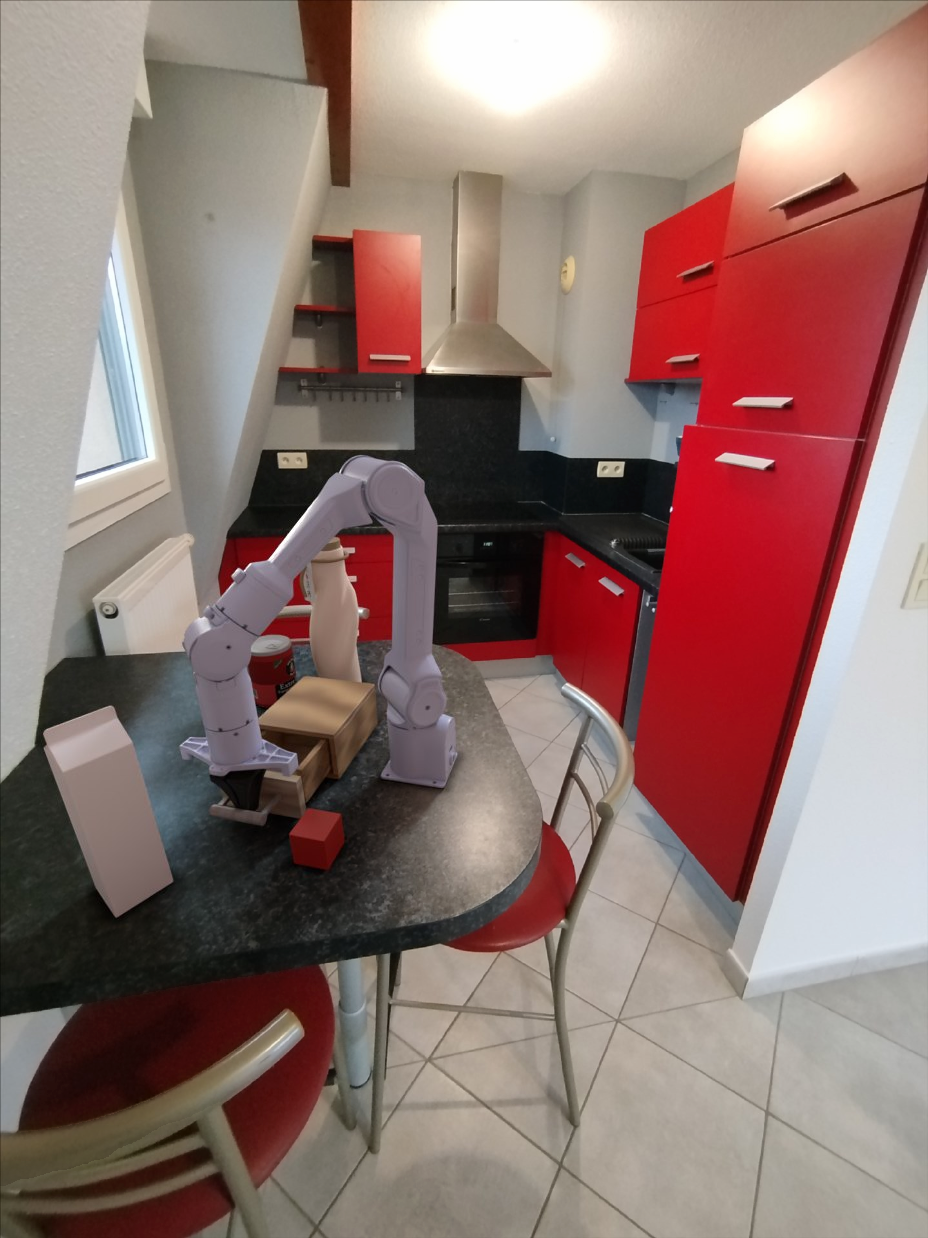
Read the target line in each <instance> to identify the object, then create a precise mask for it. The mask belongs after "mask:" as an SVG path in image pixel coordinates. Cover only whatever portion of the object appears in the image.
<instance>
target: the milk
mask: <svg viewBox="0 0 928 1238" xmlns="http://www.w3.org/2000/svg"><path fill="white" fill-rule="evenodd" d="M42 735H43V738H44V741H45V743H46V745H45V746H43V751H44V752H45V756H46V758H47V761H48V764H49V766H50V770H51V772H52V774H53V777H54V780H55V783H56V785H57V788H58V790H59V794H60V797H61V799H62V801H63V804H64V807H65V809H66V812H67V814H68V817H69V820H70V823H71V825H72V828H73V831H74V833H75V837H76V840H77V841H78V844H79V847H80V849H81V852H82V854H83V857H84V860H85V864H86V866H87V868H88V871H89V873H90V877H91V879H92V882H93V885H94V887H95V889H96V890H97V892H98V893H99V895H100V897H101V898H102V900H103V902H104V903H105V904H106V905H107V907H108V908H109V910H110V912H111V913H112V914H113V916H114V917H115V918H116V919H117V918H119V917H120V916H122V915H123V914H125V913H127V912H128V911H130V910H131V909H132V908H134V907H136V906H137V905H139V904H141V903H142V902H144V901H145V900H147V899H149V898H151V896H153V895H155V894H156V893H158V892H159V891H162V890H163V889H164V888H166V887H168V886H169V885H170V884H173V882H174V877H173V875H172V871H171V868H170V864H169V860H168V856H167V853H166V851H165V846H164V844H163V841H162V837H161V834H160V829H159V827H158V823H157V820H156V817H155V814H154V810H153V806H152V803H151V800H150V797H149V793H148V790H147V786H146V782H145V779H144V776H143V773H142V770H141V766H140V762H139V758H138V756H137V752H136V749H135V746H134V742H133V740H132V739H131V737H130V735H129V733H127V731H126V729H125V727H124V725H123V724H122V722H121V721H120V720H119V717H118V715H117V712H116V709H115V707H114V706H113V705H108V706H106V707H102V708H99V709H97V710H95V711H92V712H89V713H87V714H84V715H81V716H79V717H75V718H73V719H71V720H68V721H64V722H63V723H60V724H57V725H53V726H52V727H49V728H46V729H44V731H43V734H42Z"/></svg>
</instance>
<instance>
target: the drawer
mask: <svg viewBox="0 0 928 1238" xmlns="http://www.w3.org/2000/svg"><path fill="white" fill-rule="evenodd" d="M261 738H262V739H264V740H266V741H268V742H270V743H271V744H273V745H275V746H277V747H279V748H281V749H283V750H286V751H288V752H292V753H297V759H298V766H299V767H298V768H297V769H296V770H295V772H294V773H293V774H292V775H291V776H290V777H287V776H283V775H282V772H281V771H275V770H269V769H267V770H266V772H265V775H264V778H263V781H262V785H261V791H260V798H259V807H258V809H257V810H256V811H249V810H244V809H238V808H235V806H234V805H233V803H232V802H231V800H230V799H229V797H228V796H227V795H226V794H225V792H224V791H223V790H222V789H221V788H220V792H221V798H222V799H221V800H220V801H219V802H218V803H217V804H216V803H214V804H212V805H211V806H209V809H208V815H209V816H210V817H213V818H217V819H223V820H229V821H233V822H234V821H235V822H240V823H245V824H250V825H255V826H259V827H262V826H264V825H266V822H267V819H268V815H269V814H273V815H279V816H283V817H289V818H294V819H299V820H300V819H301V817H302V816H303V815H304V813H305V812H306V810H307V805H306V803H308V801H309V800H310V799H311V797H312V796H313V795H314V793H315V792H316V791H317V789H318V788H319V786H321V784H322V783H323V781H324V780H325V778H327V777H326V776H327V774H328V773H329V772H330V770H331V769H332V768H333V766H332V758H331V750H330V742H329V739H327V738H320V737H313V736H306V735H299V734H292V733H285V732H278V731H271V730H263V731H262V732H261Z"/></svg>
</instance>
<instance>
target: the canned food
mask: <svg viewBox="0 0 928 1238" xmlns="http://www.w3.org/2000/svg"><path fill="white" fill-rule="evenodd" d="M247 672H248V675H249V676H250V678H251V683H252V689H253V694H254V700H255V704H256V705H257V706H259V707H262V708H265V709H269V708H270V707H271V706H272V705H274V704H275V703H276V702H277V701H278V700H279V699H280V698H281V697H282V696H283V695H284V694H285V693H287V692H288V691H289V690H290V689H291V688H292V687H293V686H294V685H295V684H296V683H297V682H298V678H297V671H296V664H295V657H294V649H293V644H292V641H291V638H290V637H288V636H285V635H281V634H266V635H262V636H261V635H260V636H259V638H258V639H257V640H256V641H255V642H254V643H253V644H252V646H251V659H250V662H249V664H248V666H247Z"/></svg>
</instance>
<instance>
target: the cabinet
mask: <svg viewBox="0 0 928 1238" xmlns="http://www.w3.org/2000/svg"><path fill="white" fill-rule="evenodd" d="M377 709H378V708H377V696H376V684H375V683H370V682H353V681H345V680H336V679H327V678H319V676H318V677H317V676H309V675H304V676H303V677H302V678H300V679H299V680H297V683H296V684H295V685H294V686H293V687H292V688H291V689H290V690H289V691H288V692H287V693H285V694H284V695H283V696H282V697H281V698H280V699H279V700H278V701H277V702H276V703H275V704H274V705H272V706H271V707H270V708H267V710H266V711H265V712H263V713H262V714H261V715H260V716H258V721H259V727H260V732H262V731H263V730H271V731H278V732H285V733H292V734H299V735H306V736H313V737H320V738H327V739H329V742H330V750H331V758H332V766H333V768H332V769H331V770H330V772H329V773H328V774H327V776H326V777H325V778H328V779H333V780H334V779H335V780H340V779H341V778H342V776H343V774H344V773H345V772H346V770H347V769H348V767H349V766H350V764H351V763H352V762H353V760H354V759H355V757H356V756H357V755H358V753H359V752H360V750H361V749H362V747H363V746H364V745H365V743H366V742H367V740H368V739H369V737H370V736H371V735H372V733H373V732H374V730H375V728H377V725H378V724H379V720H378V710H377Z"/></svg>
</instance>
